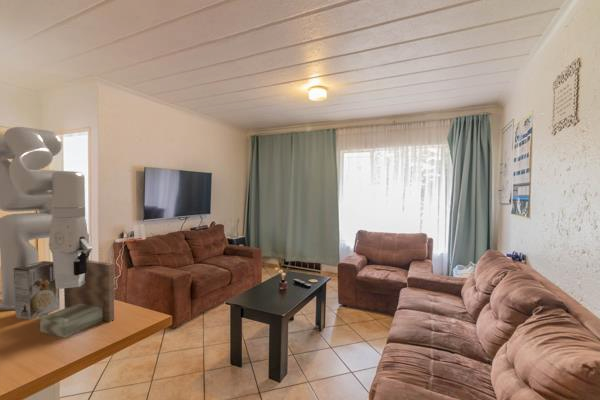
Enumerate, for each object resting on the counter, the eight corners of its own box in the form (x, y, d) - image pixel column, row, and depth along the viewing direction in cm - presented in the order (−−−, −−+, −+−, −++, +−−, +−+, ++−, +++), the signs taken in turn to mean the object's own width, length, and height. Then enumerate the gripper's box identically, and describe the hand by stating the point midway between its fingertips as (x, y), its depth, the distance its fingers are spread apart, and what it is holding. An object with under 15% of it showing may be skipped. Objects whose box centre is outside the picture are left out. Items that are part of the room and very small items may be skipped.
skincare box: (86, 283, 88) (83, 243, 88) (78, 287, 84) (76, 246, 83) (62, 285, 87) (60, 245, 86) (53, 290, 82) (51, 248, 82)
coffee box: (45, 305, 100) (44, 260, 99) (60, 308, 98) (59, 261, 97) (14, 317, 91) (12, 267, 90) (30, 320, 89) (29, 269, 88)
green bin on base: (24, 327, 85) (22, 267, 84) (69, 309, 97) (68, 257, 96) (72, 339, 79) (71, 275, 78) (114, 319, 91) (113, 263, 90)
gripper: (34, 212, 84) (35, 272, 84) (77, 216, 78) (78, 280, 79) (62, 210, 91) (63, 266, 92) (103, 213, 85) (104, 272, 86)
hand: (70, 272), depth 85 cm, fingers closed on skincare box, 7 cm apart
